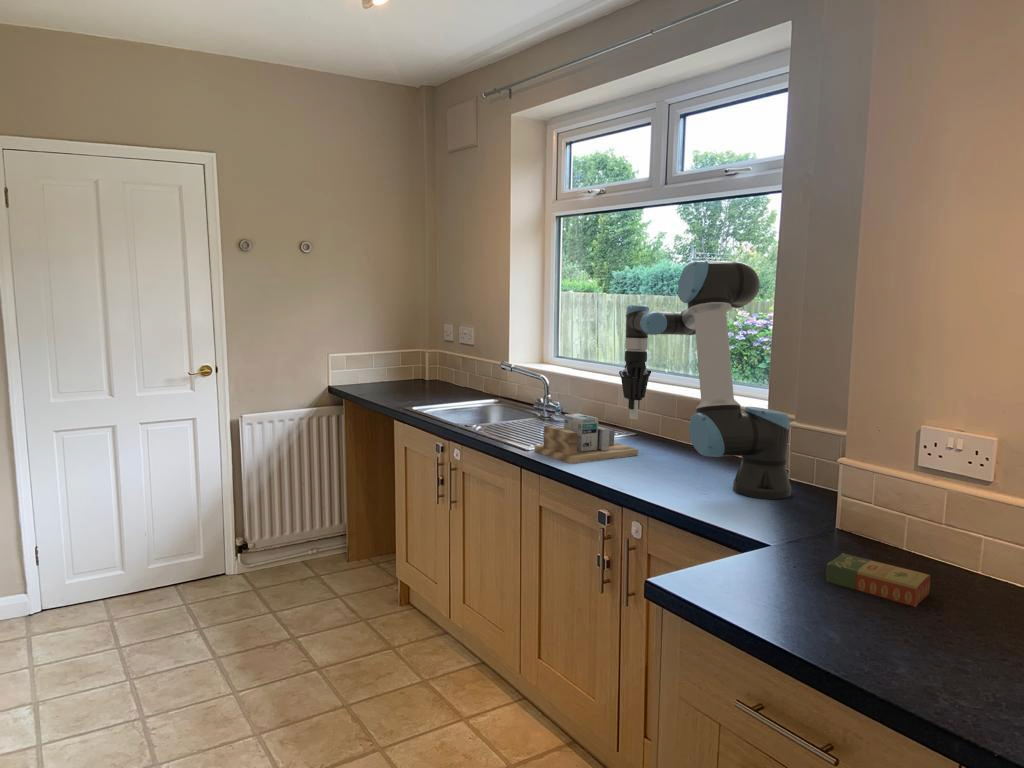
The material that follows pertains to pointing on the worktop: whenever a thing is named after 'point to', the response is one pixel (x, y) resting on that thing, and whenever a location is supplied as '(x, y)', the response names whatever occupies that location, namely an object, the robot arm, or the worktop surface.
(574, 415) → the light bulb box
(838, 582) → the carton
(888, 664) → the worktop surface
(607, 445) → the sliding jaw
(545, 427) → the vise
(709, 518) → the worktop surface
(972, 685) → the worktop surface
